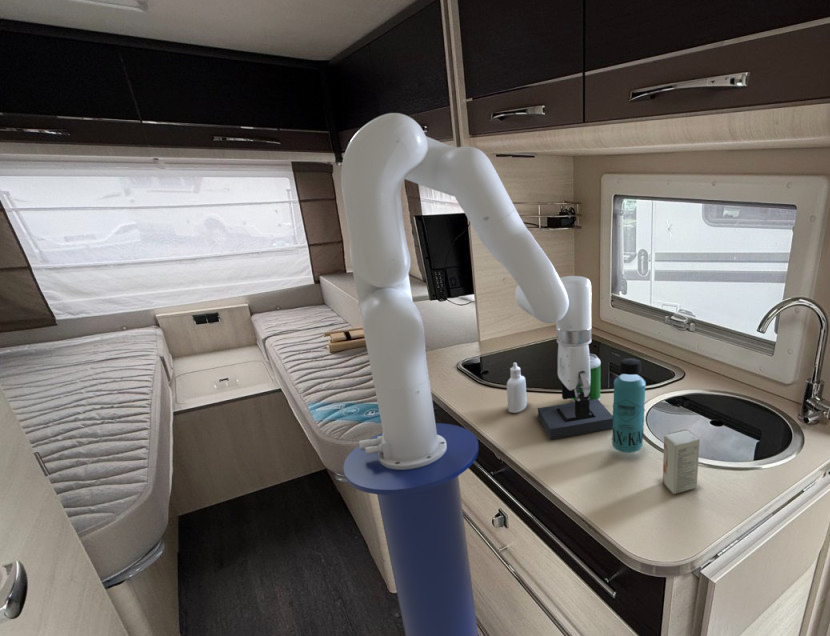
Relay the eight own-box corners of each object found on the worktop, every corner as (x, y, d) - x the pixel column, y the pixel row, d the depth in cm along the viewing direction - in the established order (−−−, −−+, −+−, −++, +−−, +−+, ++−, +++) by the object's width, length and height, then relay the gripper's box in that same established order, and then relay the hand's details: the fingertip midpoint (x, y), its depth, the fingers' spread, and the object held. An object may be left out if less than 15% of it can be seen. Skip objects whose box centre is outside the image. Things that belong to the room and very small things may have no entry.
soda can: (605, 398, 121) (605, 354, 116) (592, 410, 114) (592, 364, 110) (579, 393, 124) (578, 350, 119) (565, 404, 117) (564, 359, 113)
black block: (567, 430, 105) (566, 418, 104) (559, 419, 110) (559, 407, 109) (592, 426, 107) (592, 414, 106) (583, 415, 112) (583, 403, 111)
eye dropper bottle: (503, 408, 115) (499, 363, 111) (523, 402, 118) (520, 358, 114) (512, 414, 112) (508, 368, 108) (532, 408, 115) (529, 363, 111)
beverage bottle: (610, 444, 99) (611, 355, 92) (641, 443, 100) (644, 354, 93) (612, 460, 93) (614, 366, 86) (645, 459, 94) (650, 366, 86)
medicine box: (684, 475, 88) (688, 428, 85) (697, 488, 85) (702, 439, 81) (660, 481, 87) (663, 433, 83) (672, 495, 83) (676, 445, 79)
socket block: (550, 439, 101) (550, 429, 100) (538, 417, 111) (537, 407, 110) (614, 427, 106) (614, 418, 105) (597, 407, 116) (597, 398, 115)
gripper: (546, 326, 107) (549, 394, 113) (569, 348, 92) (571, 426, 98) (577, 323, 110) (578, 390, 116) (605, 344, 94) (604, 420, 101)
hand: (575, 406), depth 107 cm, fingers open, 9 cm apart
